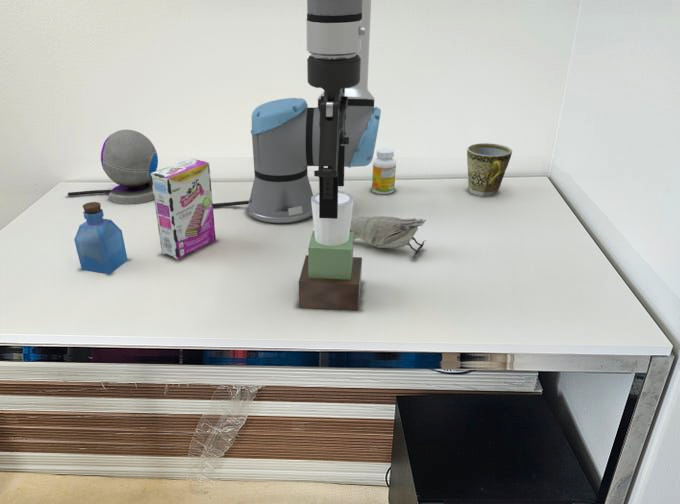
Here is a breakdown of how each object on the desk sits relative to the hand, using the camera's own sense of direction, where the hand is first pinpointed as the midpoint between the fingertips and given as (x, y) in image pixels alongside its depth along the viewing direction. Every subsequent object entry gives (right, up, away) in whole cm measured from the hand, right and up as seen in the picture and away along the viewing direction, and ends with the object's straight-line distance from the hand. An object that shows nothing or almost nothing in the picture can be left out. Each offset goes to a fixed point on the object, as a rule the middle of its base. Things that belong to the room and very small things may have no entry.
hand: (332, 200), depth 98 cm
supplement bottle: (+15, +15, +51) cm, 55 cm away
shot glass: (0, -6, +4) cm, 7 cm away
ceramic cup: (+39, +14, +48) cm, 63 cm away
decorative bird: (+11, -3, +24) cm, 27 cm away
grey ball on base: (-45, +15, +52) cm, 70 cm away
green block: (0, -10, +6) cm, 12 cm away
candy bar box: (-27, -3, +26) cm, 38 cm away
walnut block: (0, -14, +10) cm, 17 cm away
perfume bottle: (-43, -7, +20) cm, 48 cm away
